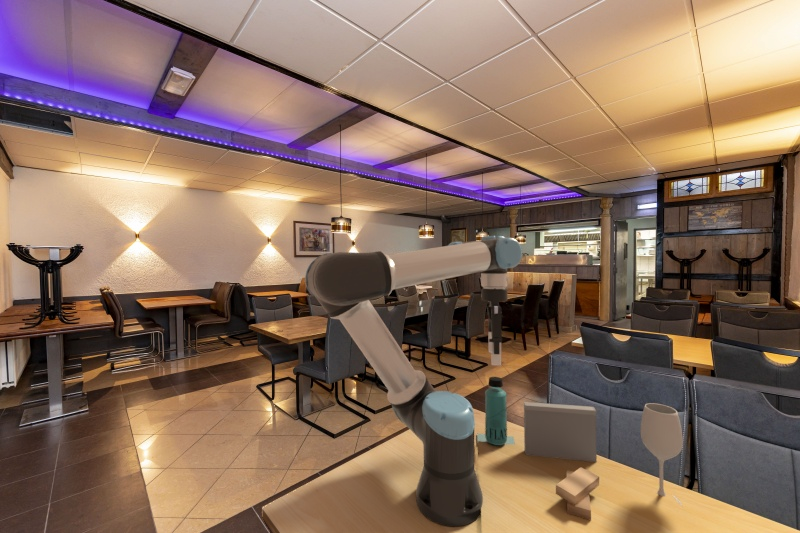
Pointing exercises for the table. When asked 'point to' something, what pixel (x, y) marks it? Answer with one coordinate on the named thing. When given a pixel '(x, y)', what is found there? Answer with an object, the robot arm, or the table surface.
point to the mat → (482, 438)
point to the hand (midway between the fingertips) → (494, 358)
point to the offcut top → (577, 485)
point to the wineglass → (661, 435)
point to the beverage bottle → (495, 412)
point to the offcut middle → (580, 506)
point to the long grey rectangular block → (560, 431)
